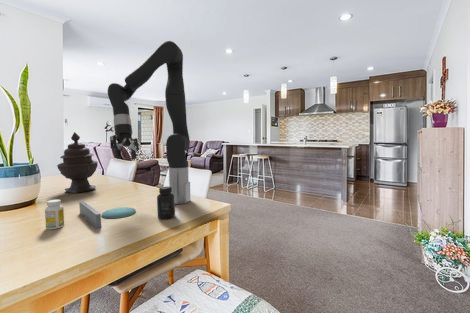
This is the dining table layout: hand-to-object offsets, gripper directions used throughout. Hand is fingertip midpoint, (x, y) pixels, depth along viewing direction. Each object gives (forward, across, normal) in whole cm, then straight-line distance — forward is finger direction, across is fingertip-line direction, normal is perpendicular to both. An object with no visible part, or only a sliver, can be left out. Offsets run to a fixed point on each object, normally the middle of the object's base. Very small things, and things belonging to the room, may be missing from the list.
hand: (126, 158), depth 116 cm
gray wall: (+24, -19, +3) cm, 31 cm away
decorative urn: (+8, +12, +53) cm, 55 cm away
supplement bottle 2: (+29, -4, -22) cm, 36 cm away
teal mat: (+24, -8, -1) cm, 25 cm away
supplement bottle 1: (+25, -29, +7) cm, 39 cm away
